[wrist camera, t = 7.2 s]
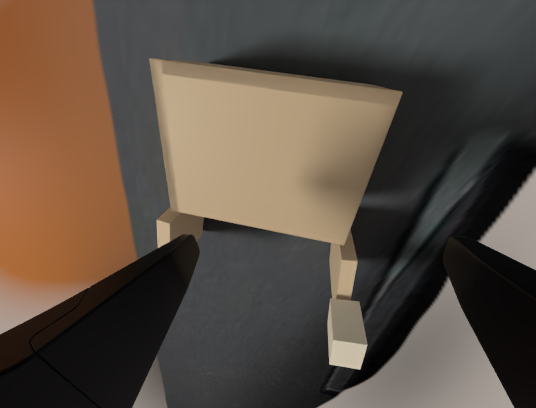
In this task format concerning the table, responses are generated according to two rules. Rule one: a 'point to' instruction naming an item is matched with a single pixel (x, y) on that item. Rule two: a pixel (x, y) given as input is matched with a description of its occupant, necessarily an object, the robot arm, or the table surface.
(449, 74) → the table surface
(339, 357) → the flap open
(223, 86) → the carton
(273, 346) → the table surface
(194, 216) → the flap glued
